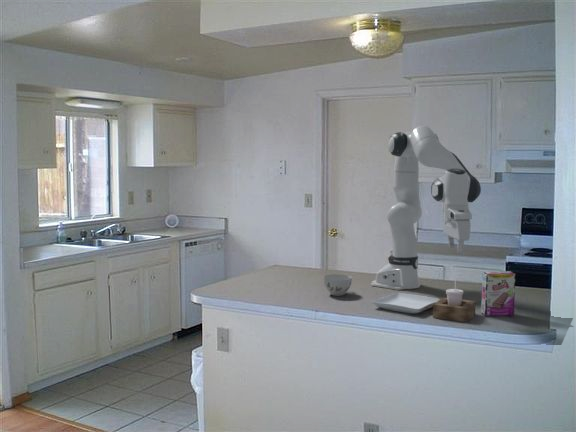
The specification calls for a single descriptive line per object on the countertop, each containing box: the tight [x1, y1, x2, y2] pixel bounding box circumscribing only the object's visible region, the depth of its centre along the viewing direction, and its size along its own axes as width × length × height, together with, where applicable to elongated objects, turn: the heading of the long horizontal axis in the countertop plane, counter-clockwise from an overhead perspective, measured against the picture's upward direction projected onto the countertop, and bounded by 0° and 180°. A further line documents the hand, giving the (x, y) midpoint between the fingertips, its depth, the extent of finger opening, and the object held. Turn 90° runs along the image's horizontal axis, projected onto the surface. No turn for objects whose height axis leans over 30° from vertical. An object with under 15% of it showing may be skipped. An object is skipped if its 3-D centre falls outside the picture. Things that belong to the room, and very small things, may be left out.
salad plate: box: [371, 292, 441, 315], centre depth 243 cm, size 21×21×3 cm
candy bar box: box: [480, 270, 516, 317], centre depth 229 cm, size 11×5×16 cm, turn 92°
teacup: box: [323, 273, 353, 297], centre depth 266 cm, size 15×12×8 cm
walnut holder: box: [432, 297, 476, 323], centre depth 229 cm, size 13×13×5 cm
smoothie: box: [445, 279, 464, 306], centre depth 228 cm, size 6×6×14 cm
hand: (455, 249), depth 227 cm, fingers open, 8 cm apart
